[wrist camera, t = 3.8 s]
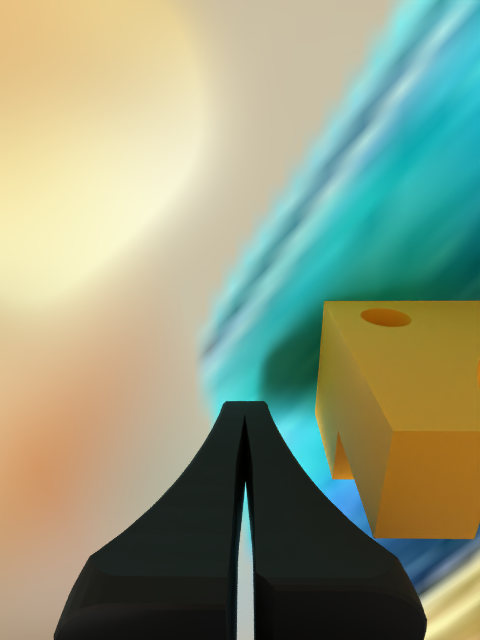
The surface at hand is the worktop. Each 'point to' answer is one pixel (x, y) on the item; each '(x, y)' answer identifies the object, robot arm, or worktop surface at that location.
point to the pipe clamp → (404, 412)
